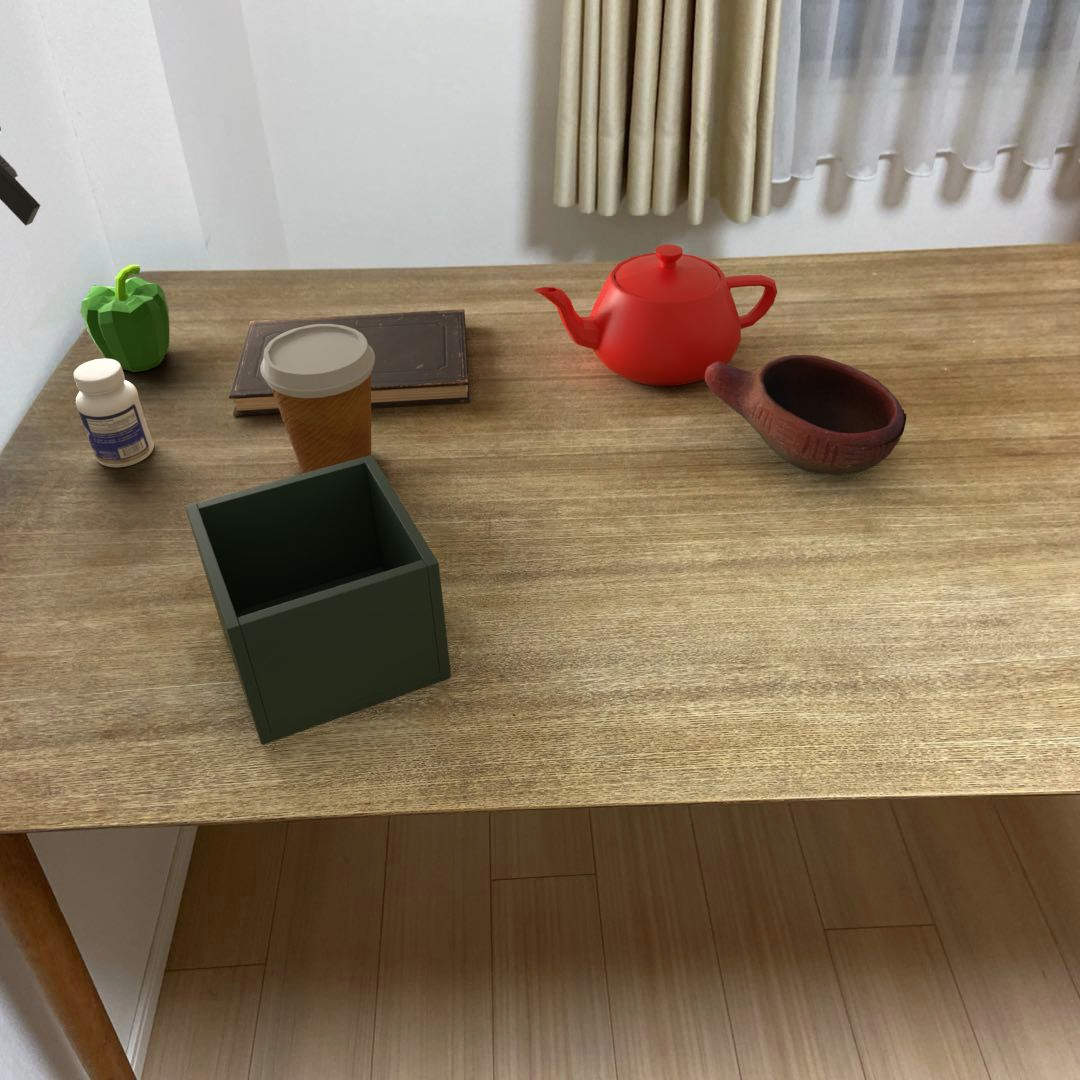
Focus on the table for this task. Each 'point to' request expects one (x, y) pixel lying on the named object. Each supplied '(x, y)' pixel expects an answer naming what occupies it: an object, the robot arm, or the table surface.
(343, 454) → the disposable coffee cup
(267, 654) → the waste bin
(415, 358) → the hardcover book
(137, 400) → the pill bottle
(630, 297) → the teapot
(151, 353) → the bell pepper
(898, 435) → the bowl
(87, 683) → the table surface
